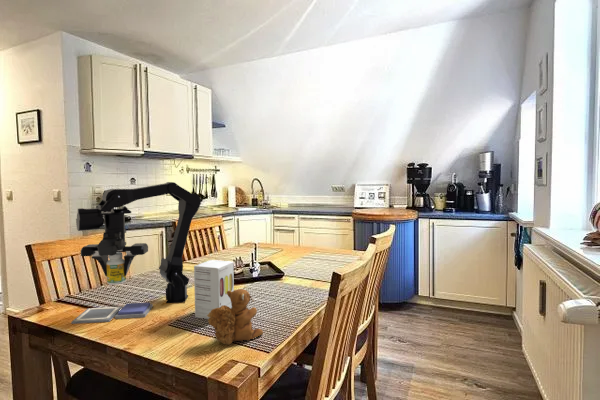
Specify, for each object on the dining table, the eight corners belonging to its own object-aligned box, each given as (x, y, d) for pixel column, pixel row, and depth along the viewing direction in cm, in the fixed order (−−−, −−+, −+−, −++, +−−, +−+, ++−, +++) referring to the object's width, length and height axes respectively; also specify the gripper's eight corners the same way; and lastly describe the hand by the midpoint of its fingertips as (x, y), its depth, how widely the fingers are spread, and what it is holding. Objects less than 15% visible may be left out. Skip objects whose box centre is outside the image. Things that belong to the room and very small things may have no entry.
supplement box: (219, 321, 109) (217, 268, 108) (194, 317, 112) (192, 265, 111) (235, 310, 118) (234, 261, 117) (211, 307, 121) (210, 258, 120)
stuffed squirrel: (265, 334, 100) (265, 289, 99) (224, 353, 90) (223, 303, 89) (243, 324, 107) (242, 282, 106) (203, 341, 97) (201, 294, 96)
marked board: (122, 308, 121) (122, 306, 121) (109, 321, 110) (109, 319, 110) (88, 310, 119) (88, 307, 119) (71, 323, 108) (71, 321, 108)
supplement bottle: (124, 279, 118) (123, 251, 118) (127, 283, 114) (126, 254, 113) (106, 282, 115) (105, 252, 115) (108, 286, 111) (107, 256, 110)
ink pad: (153, 306, 122) (152, 301, 122) (145, 317, 113) (144, 311, 113) (125, 308, 121) (125, 303, 121) (115, 318, 112) (115, 313, 112)
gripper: (71, 232, 104) (73, 284, 105) (137, 231, 107) (139, 282, 108) (87, 227, 115) (89, 274, 116) (148, 226, 118) (149, 272, 119)
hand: (116, 275), depth 115 cm, fingers closed on supplement bottle, 5 cm apart
